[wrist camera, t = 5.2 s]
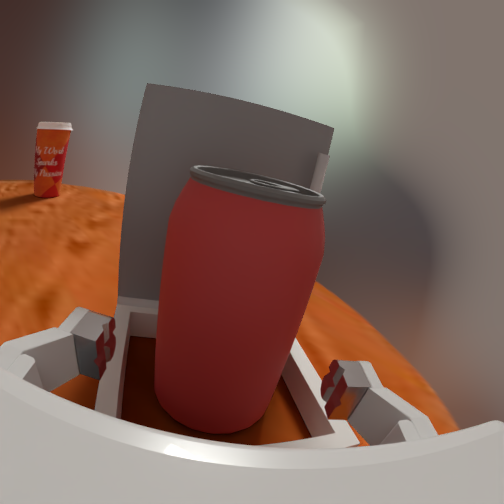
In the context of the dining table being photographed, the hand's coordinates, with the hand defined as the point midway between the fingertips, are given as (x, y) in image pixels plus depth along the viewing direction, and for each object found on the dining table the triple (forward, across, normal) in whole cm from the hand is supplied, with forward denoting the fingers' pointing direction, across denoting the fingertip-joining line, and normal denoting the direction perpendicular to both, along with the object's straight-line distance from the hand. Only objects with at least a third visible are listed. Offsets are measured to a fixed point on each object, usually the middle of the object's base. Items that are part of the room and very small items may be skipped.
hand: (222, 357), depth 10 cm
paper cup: (+39, +37, +6) cm, 54 cm away
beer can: (+4, 0, +6) cm, 7 cm away
